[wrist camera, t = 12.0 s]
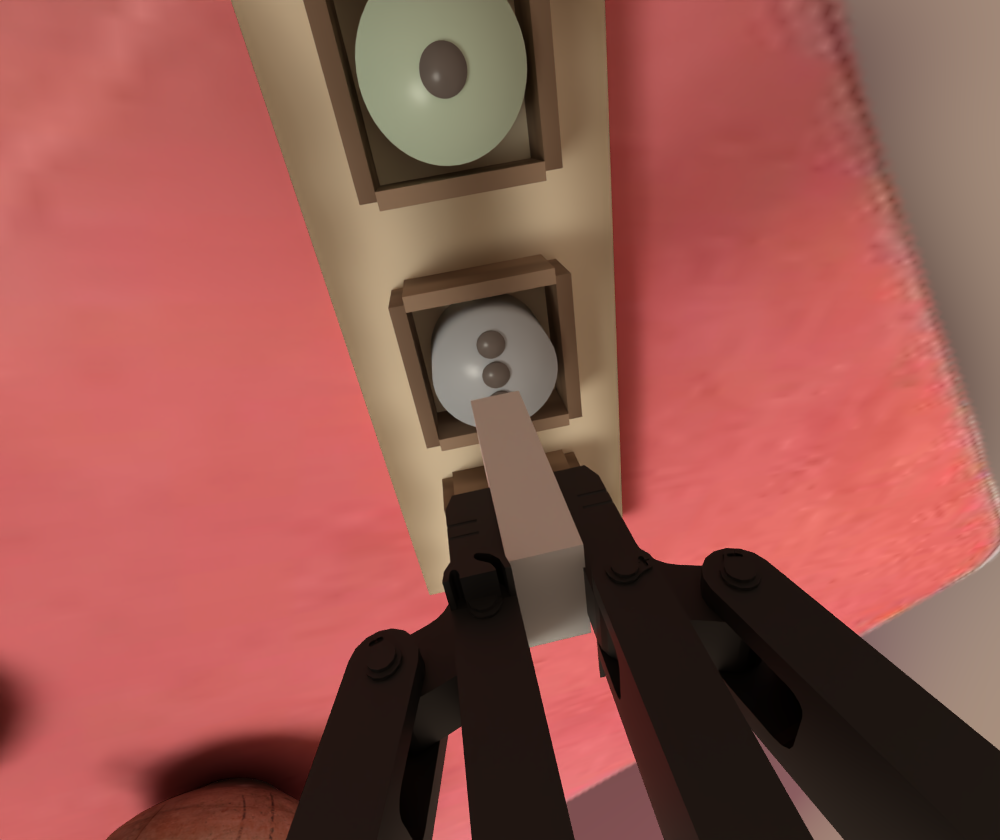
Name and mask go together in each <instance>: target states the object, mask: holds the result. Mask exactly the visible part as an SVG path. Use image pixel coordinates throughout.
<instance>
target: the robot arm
mask: <svg viewBox="0 0 1000 840" xmlns="http://www.w3.org/2000/svg"><path fill="white" fill-rule="evenodd" d="M471 406H472V410H473V415H474V420H475V425H476V430H477V434H478V439H479V444H480V449H481V453H482V458H483V463H484V468H485V473H486V477H487V481H488V486H489V488H484V489H480V490H475V491H471V492H466V493H462V494H457V495H453V496H452V497H451V499H450V501H449V503H448V506H447V508H446V510H445V514H446V524H447V534H448V545H449V555H450V563H449V564H448V566H447V568H446V569H445V571H444V574H443V580H442V584H443V587H444V590H445V593H446V597H447V600H448V603H449V604H448V606H447V608H446V609H445V611H444V612H443V613H442V614H441V615H440V616H439V617H438V618H437V619H436V620H434V621H433V622H432V623H430V624H429V625H427V626H425V627H423V628H422V629H420V630H418V631H416V632H414V633H413V634H411V635H410V634H409V633H407V632H406V631H404V630H398V629H387V630H382V631H379V632H377V633H375V634H373V635H371V636H369V637H368V638H366V639H365V640H364V641H363V642H362V643H361V644H360V645H359V646H358V647H357V648H356V649H355V651H354V653H353V654H352V656H351V658H350V660H349V662H348V665H347V668H346V670H345V673H344V676H343V679H342V682H341V685H340V687H339V690H338V693H337V696H336V699H335V702H334V704H333V707H332V710H331V713H330V716H329V719H328V721H327V724H326V727H325V730H324V733H323V736H322V738H321V741H320V744H319V747H318V750H317V753H316V755H315V758H314V761H313V764H312V767H311V770H310V772H309V775H308V778H307V781H306V784H305V787H304V789H303V792H302V795H301V798H300V801H299V804H298V806H297V809H296V812H295V815H294V818H293V821H292V823H291V826H290V829H289V832H288V835H287V838H286V840H432V836H433V830H434V823H435V817H436V810H437V804H438V798H439V791H440V785H441V778H442V772H443V765H444V759H445V752H446V746H447V739H448V735H449V734H450V733H452V732H453V731H455V730H456V729H458V728H460V727H461V726H462V737H463V748H464V759H465V769H466V780H467V791H468V802H469V813H470V824H471V835H472V840H575V839H574V835H573V830H572V826H571V822H570V818H569V814H568V809H567V805H566V801H565V797H564V792H563V788H562V784H561V780H560V775H559V771H558V767H557V763H556V758H555V754H554V750H553V746H552V741H551V737H550V733H549V729H548V724H547V720H546V716H545V712H544V708H543V703H542V699H541V695H540V691H539V686H538V682H537V678H536V674H535V669H534V665H533V661H532V657H531V652H530V648H529V647H533V646H537V645H541V644H546V643H550V642H554V641H558V640H562V639H566V638H570V637H575V636H579V635H583V634H587V633H591V626H590V622H591V625H592V627H593V630H594V633H595V635H596V638H597V647H598V660H599V670H600V678H601V677H605V675H606V678H607V681H608V684H609V686H610V689H611V692H612V695H613V698H614V701H615V703H616V706H617V709H618V712H619V715H620V717H621V720H622V723H623V726H624V729H625V731H626V734H627V737H628V740H629V743H630V745H631V748H632V751H633V754H634V757H635V759H636V762H637V765H638V768H639V771H640V773H641V776H642V779H643V782H644V785H645V787H646V790H647V793H648V796H649V799H650V801H651V804H652V807H653V810H654V813H655V815H656V818H657V821H658V824H659V827H660V829H661V832H662V835H663V838H664V840H814V839H813V837H812V836H811V834H810V832H809V831H808V829H807V827H806V825H805V823H804V822H803V820H802V818H801V816H800V815H799V813H798V811H797V809H796V807H795V806H794V804H793V802H792V801H791V799H790V797H789V795H788V793H787V792H786V790H785V788H784V786H783V785H782V783H781V781H780V779H779V778H778V776H777V774H776V772H775V770H774V769H773V767H772V765H771V763H770V762H769V760H768V758H767V756H766V754H765V753H764V751H763V749H762V747H761V746H760V744H759V742H758V740H757V739H756V737H755V735H754V733H755V734H756V735H757V737H758V738H759V739H760V740H761V741H762V743H763V744H764V745H765V746H766V747H767V749H768V750H769V751H770V752H771V753H772V755H773V756H774V757H775V758H776V759H777V760H778V762H779V763H780V764H781V765H782V766H783V768H784V769H785V770H786V771H787V772H788V774H789V775H790V776H791V777H792V778H793V779H794V781H795V782H796V783H797V784H798V785H799V786H800V788H801V789H802V790H803V791H804V792H805V794H806V795H807V796H808V797H809V798H810V800H811V801H812V802H813V803H814V804H815V806H816V807H817V808H818V809H819V810H820V812H821V813H822V814H823V815H824V816H825V817H826V819H827V820H828V821H829V822H830V823H831V825H833V827H834V828H835V829H836V831H837V832H838V833H839V834H840V835H841V836H842V838H843V839H844V840H1000V751H999V750H998V749H997V748H996V747H995V746H993V745H992V744H991V743H990V742H988V741H987V740H986V739H985V738H983V737H982V736H981V735H980V734H979V733H977V732H976V731H975V730H974V729H972V728H971V727H970V726H969V725H968V724H966V723H965V722H964V721H963V720H961V719H960V718H959V717H958V716H957V715H955V714H954V713H953V712H952V711H950V710H949V709H948V708H947V707H945V706H944V705H943V704H942V703H940V702H939V701H938V700H937V699H935V698H934V697H933V696H932V695H931V694H929V693H928V692H927V691H926V690H925V689H923V688H922V687H921V686H920V685H919V684H917V683H916V682H915V681H914V680H912V679H911V678H910V677H909V676H907V675H906V674H905V673H904V672H903V671H901V670H900V669H899V668H898V667H896V666H895V665H894V664H893V663H892V662H890V661H889V660H888V659H887V658H885V657H884V656H883V655H882V654H881V653H879V652H878V651H877V650H876V649H874V648H873V647H872V646H871V645H869V644H868V643H867V642H866V641H864V640H863V639H862V638H861V637H860V636H858V635H857V634H856V633H855V632H854V631H852V630H851V629H850V628H849V627H847V626H846V625H845V624H844V623H843V622H841V621H840V620H839V619H838V618H836V617H835V616H834V615H833V614H831V613H830V612H829V611H828V610H827V609H825V608H824V607H823V606H822V605H820V604H819V603H818V602H817V601H816V600H814V599H813V598H812V597H811V596H809V595H808V594H807V593H806V592H805V591H803V590H802V589H801V588H800V587H798V586H797V585H796V584H795V583H794V582H792V581H791V580H790V579H789V578H787V577H786V576H785V575H784V574H782V573H781V572H780V571H779V570H778V569H776V568H775V567H774V566H773V565H771V564H770V563H769V562H768V561H767V560H765V559H763V558H762V557H760V556H758V555H757V554H755V553H753V552H749V551H746V550H742V549H734V548H725V549H721V550H717V551H714V552H713V553H711V554H710V555H709V556H707V557H706V558H705V560H704V563H703V565H702V566H694V565H675V564H668V563H664V562H661V561H658V560H655V559H654V558H652V556H651V555H650V554H649V553H647V552H645V551H643V550H642V549H640V548H639V547H638V545H637V544H636V542H635V540H634V539H633V537H632V535H631V533H630V531H629V529H628V528H627V526H626V524H625V522H624V520H623V519H622V517H621V515H620V513H619V511H618V509H617V508H616V506H615V504H614V503H613V501H612V498H611V497H610V495H609V493H608V491H607V490H606V487H605V486H604V484H603V482H602V480H601V478H600V476H599V475H598V474H596V473H595V472H594V471H592V470H591V469H589V468H588V467H587V466H585V465H582V466H578V467H573V468H569V469H564V470H560V471H555V472H553V471H552V468H551V466H550V464H549V461H548V459H547V457H546V454H545V452H544V449H543V447H542V445H541V442H540V440H539V437H538V435H537V433H536V430H535V428H534V426H533V423H532V421H531V418H530V416H529V414H528V411H527V409H526V406H525V404H524V402H523V399H522V397H521V395H520V392H519V391H514V392H509V393H505V394H500V395H495V396H490V397H486V398H481V399H476V400H471ZM752 731H753V732H754V733H753V732H752Z"/></svg>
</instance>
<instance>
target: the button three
mask: <svg viewBox="0 0 1000 840" xmlns="http://www.w3.org/2000/svg"><path fill="white" fill-rule="evenodd" d="M431 359H432V379H433V385H434V389H435V392H436V395H437V397H438V399H439V401H440V402H441V404H442V405H443V407H444V408H445V409H446V410H447V411H448V412H449V413H450V414H451V415H453V416H454V417H455V418H457V419H458V420H460V421H462V422H464V423H466V424H468V425H471V426H474V427H476V425H475V420H474V415H473V410H472V406H471V400H476V399H481V398H486V397H490V396H495V395H500V394H505V393H509V392H514V391H519V392H520V395H521V397H522V399H523V402H524V404H525V406H526V409H527V411H528V414H529V416H532V415H533V414H534V413H536V412H537V411H538V410H539V409H540V408H541V407H542V406H543V405H544V404H545V402H546V401H547V399H548V398H549V396H550V395H551V393H552V391H553V388H554V386H555V382H556V378H557V371H558V364H557V357H556V353H555V350H554V347H553V345H552V343H551V341H550V339H549V338H548V336H547V334H546V333H545V331H544V330H543V328H542V326H541V325H540V323H539V322H538V320H537V318H536V317H535V315H534V314H533V312H532V311H531V310H530V309H529V308H528V307H527V305H525V304H524V303H523V302H522V301H520V300H519V299H517V298H515V297H513V296H511V295H509V294H502V295H496V296H491V297H486V298H481V299H476V300H470V301H465V302H460V303H455V304H451V305H450V306H449V307H448V308H447V309H446V310H445V311H444V312H443V313H442V314H441V316H440V317H439V319H438V321H437V322H436V325H435V327H434V329H433V333H432V338H431Z"/></svg>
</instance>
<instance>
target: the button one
mask: <svg viewBox="0 0 1000 840" xmlns="http://www.w3.org/2000/svg"><path fill="white" fill-rule="evenodd" d="M355 62H356V73H357V78H358V83H359V87H360V91H361V94H362V97H363V100H364V102H365V104H366V107H367V109H368V111H369V113H370V115H371V117H372V118H373V120H374V122H375V123H376V125H377V126H378V127H379V129H380V130H381V132H382V133H383V134H384V135H385V136H386V137H387V138H388V139H389V140H390V141H391V142H392V143H393V144H394V145H395V146H396V147H397V148H399V149H400V150H402V151H403V152H405V153H406V154H408V155H409V156H411V157H413V158H415V159H417V160H420V161H423V162H426V163H429V164H434V165H439V166H453V165H461V164H465V163H469V162H471V161H474V160H476V159H478V158H480V157H482V156H484V155H485V154H487V153H488V152H490V151H491V150H492V149H493V148H495V147H496V146H497V145H498V144H499V143H500V142H501V141H502V140H503V138H504V137H505V136H506V134H507V133H508V132H509V130H510V129H511V127H512V125H513V124H514V122H515V120H516V118H517V115H518V113H519V111H520V108H521V105H522V101H523V98H524V94H525V88H526V79H527V58H526V50H525V44H524V40H523V36H522V32H521V29H520V26H519V24H518V21H517V18H516V16H515V14H514V12H513V10H512V8H511V6H510V5H509V3H508V2H507V0H368V2H367V4H366V6H365V8H364V11H363V13H362V16H361V19H360V23H359V26H358V30H357V37H356V45H355Z"/></svg>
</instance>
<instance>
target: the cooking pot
mask: <svg viewBox="0 0 1000 840" xmlns="http://www.w3.org/2000/svg"><path fill="white" fill-rule="evenodd" d="M298 804H299V801H298V800H297V799H295V798H293V797H291V796H290V795H288V794H286V793H284V792H282V791H280V790H278V789H276V788H275V787H274V786H273V785H271V784H269V783H267V782H264V781H261V780H257V779H251V778H231V779H224V780H220V781H216V782H213V783H211V784H209V785H207V786H205V787H202V788H199V789H196V790H193V791H190V792H187V793H184V794H181V795H179V796H176V797H173V798H171V799H168V800H166V801H164V802H161V803H159V804H157V805H155V806H153V807H151V808H149V809H147V810H145V811H143V812H141V813H140V814H138V815H137V816H135V817H134V818H132V819H131V820H129V821H128V822H126V823H125V824H123V825H122V826H121V827H119V828H118V829H117V830H115V831H114V832H113V833H112V834H111V835H110V836H109V837H108V838H107V839H106V840H286V838H287V835H288V832H289V829H290V826H291V823H292V821H293V818H294V815H295V812H296V809H297V806H298Z"/></svg>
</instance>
